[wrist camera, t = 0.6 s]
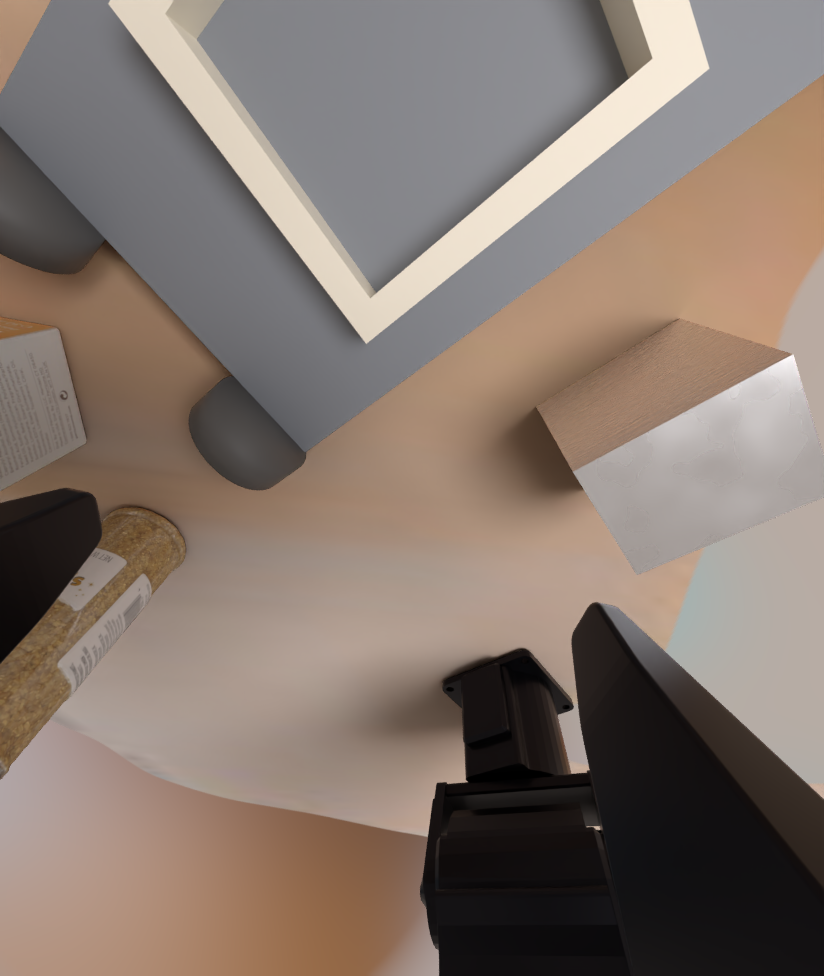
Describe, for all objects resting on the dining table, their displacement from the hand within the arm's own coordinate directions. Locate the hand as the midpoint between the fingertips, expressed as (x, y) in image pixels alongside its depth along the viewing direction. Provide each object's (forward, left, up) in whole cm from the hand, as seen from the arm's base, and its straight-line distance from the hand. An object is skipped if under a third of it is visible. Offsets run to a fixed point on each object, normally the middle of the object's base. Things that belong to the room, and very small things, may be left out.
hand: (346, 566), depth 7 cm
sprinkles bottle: (+1, +17, -12) cm, 21 cm away
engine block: (-7, -7, -12) cm, 15 cm away
